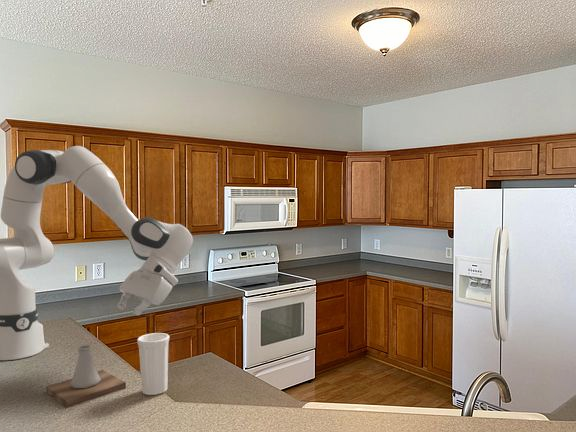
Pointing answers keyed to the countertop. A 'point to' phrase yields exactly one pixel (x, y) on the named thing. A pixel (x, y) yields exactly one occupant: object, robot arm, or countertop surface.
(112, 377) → the walnut board
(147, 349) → the cup
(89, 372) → the flask
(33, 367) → the countertop surface
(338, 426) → the countertop surface
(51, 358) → the countertop surface
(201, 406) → the countertop surface
